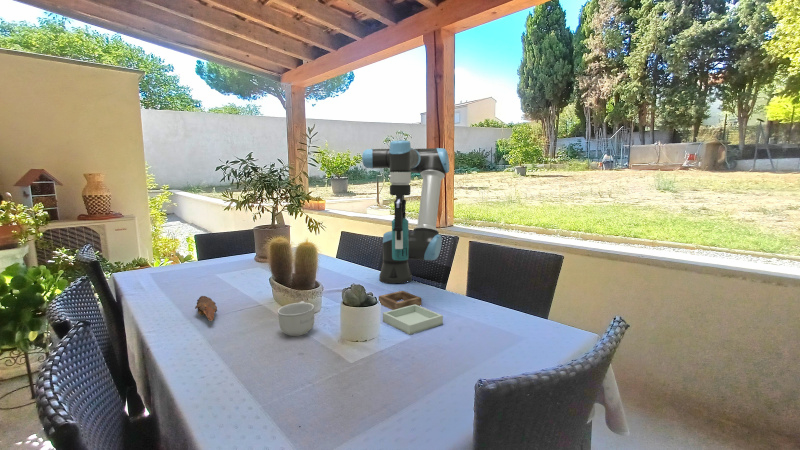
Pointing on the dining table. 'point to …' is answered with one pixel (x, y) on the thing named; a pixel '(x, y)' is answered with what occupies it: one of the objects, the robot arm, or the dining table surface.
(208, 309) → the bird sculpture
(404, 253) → the beverage bottle
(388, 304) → the socket block
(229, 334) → the dining table surface
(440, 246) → the robot arm
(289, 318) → the teacup
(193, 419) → the dining table surface
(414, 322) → the tray
